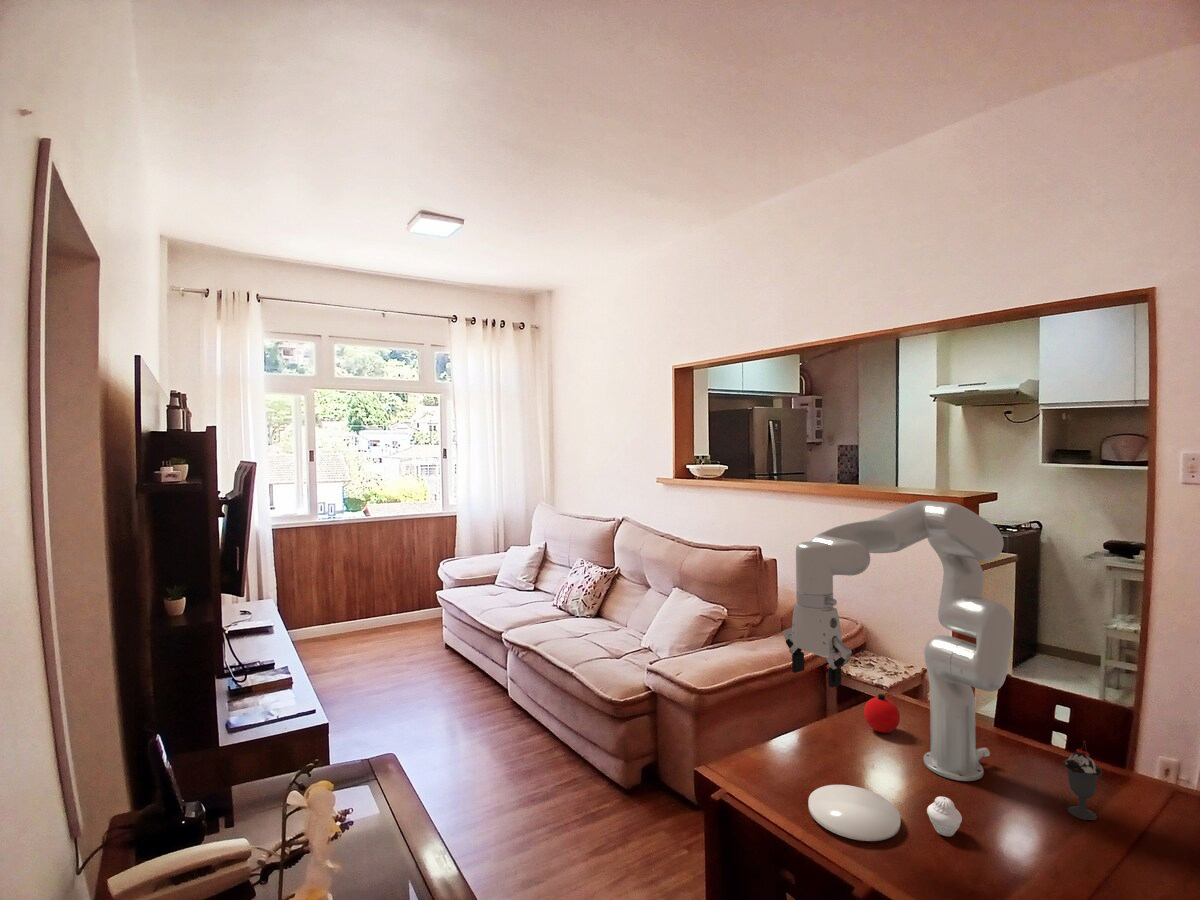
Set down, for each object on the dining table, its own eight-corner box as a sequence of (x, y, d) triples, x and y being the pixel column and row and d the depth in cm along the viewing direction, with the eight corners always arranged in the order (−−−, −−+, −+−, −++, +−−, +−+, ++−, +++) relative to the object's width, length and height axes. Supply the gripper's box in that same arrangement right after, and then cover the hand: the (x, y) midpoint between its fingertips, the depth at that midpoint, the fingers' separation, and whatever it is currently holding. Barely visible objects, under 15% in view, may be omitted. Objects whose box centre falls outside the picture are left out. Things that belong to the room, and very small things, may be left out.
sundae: (1094, 807, 132) (1093, 738, 132) (1108, 826, 125) (1107, 753, 125) (1057, 802, 134) (1057, 733, 134) (1069, 820, 128) (1069, 748, 127)
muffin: (960, 826, 126) (959, 792, 126) (963, 844, 121) (963, 809, 121) (926, 819, 129) (925, 786, 129) (928, 836, 123) (927, 802, 123)
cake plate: (858, 786, 141) (858, 778, 141) (921, 833, 124) (920, 824, 124) (791, 802, 136) (791, 793, 136) (847, 853, 119) (847, 843, 119)
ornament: (883, 741, 162) (883, 704, 162) (856, 727, 170) (856, 691, 170) (907, 734, 166) (907, 697, 166) (879, 721, 174) (879, 685, 174)
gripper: (860, 605, 127) (862, 687, 127) (795, 589, 142) (796, 663, 142) (837, 611, 123) (838, 696, 123) (772, 594, 138) (773, 669, 138)
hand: (816, 678), depth 133 cm, fingers open, 9 cm apart
